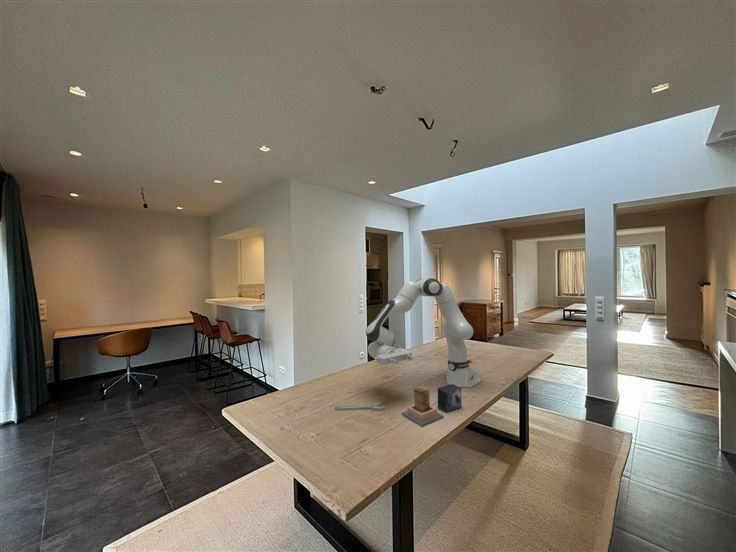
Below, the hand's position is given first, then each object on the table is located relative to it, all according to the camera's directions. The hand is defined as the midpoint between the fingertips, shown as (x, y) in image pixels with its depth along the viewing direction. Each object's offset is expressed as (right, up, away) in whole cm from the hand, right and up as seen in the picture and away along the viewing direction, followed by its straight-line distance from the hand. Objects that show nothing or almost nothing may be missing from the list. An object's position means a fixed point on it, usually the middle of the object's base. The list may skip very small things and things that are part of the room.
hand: (404, 360), depth 148 cm
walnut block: (+7, -23, -10) cm, 26 cm away
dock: (+7, -24, -10) cm, 27 cm away
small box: (+23, -24, -3) cm, 33 cm away
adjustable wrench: (-23, -25, 0) cm, 34 cm away
